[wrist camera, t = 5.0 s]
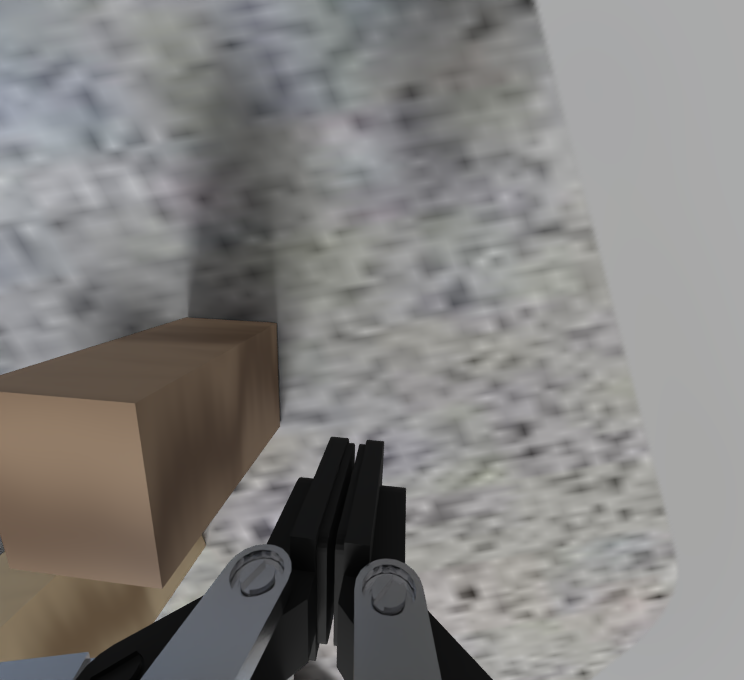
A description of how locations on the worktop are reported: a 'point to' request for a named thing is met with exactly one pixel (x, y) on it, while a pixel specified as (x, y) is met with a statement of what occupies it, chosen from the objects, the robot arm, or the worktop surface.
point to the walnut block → (132, 447)
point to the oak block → (75, 610)
